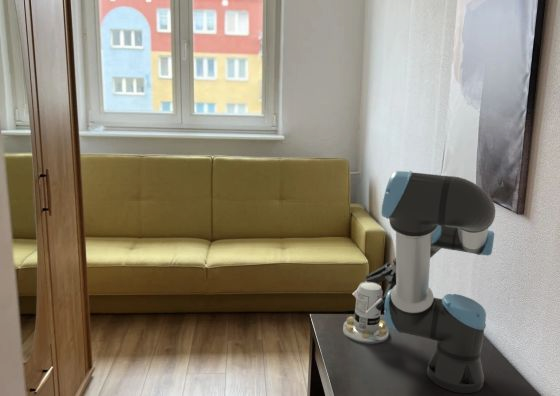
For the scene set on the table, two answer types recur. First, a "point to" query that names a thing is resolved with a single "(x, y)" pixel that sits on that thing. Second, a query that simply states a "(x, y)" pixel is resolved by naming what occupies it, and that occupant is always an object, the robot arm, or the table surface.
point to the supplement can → (367, 307)
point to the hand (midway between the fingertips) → (361, 305)
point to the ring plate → (362, 340)
